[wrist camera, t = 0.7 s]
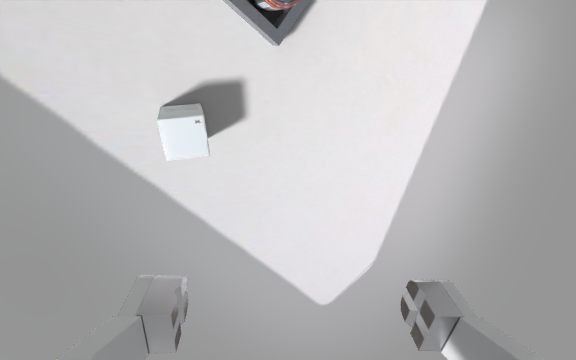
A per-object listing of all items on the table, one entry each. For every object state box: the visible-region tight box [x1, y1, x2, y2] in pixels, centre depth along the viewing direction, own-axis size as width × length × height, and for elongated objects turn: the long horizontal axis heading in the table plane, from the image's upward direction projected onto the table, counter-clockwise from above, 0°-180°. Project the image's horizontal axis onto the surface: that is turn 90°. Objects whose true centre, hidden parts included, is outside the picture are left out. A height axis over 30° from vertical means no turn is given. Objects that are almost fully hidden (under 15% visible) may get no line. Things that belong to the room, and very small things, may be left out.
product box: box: [157, 103, 210, 161], centre depth 43 cm, size 6×6×7 cm
